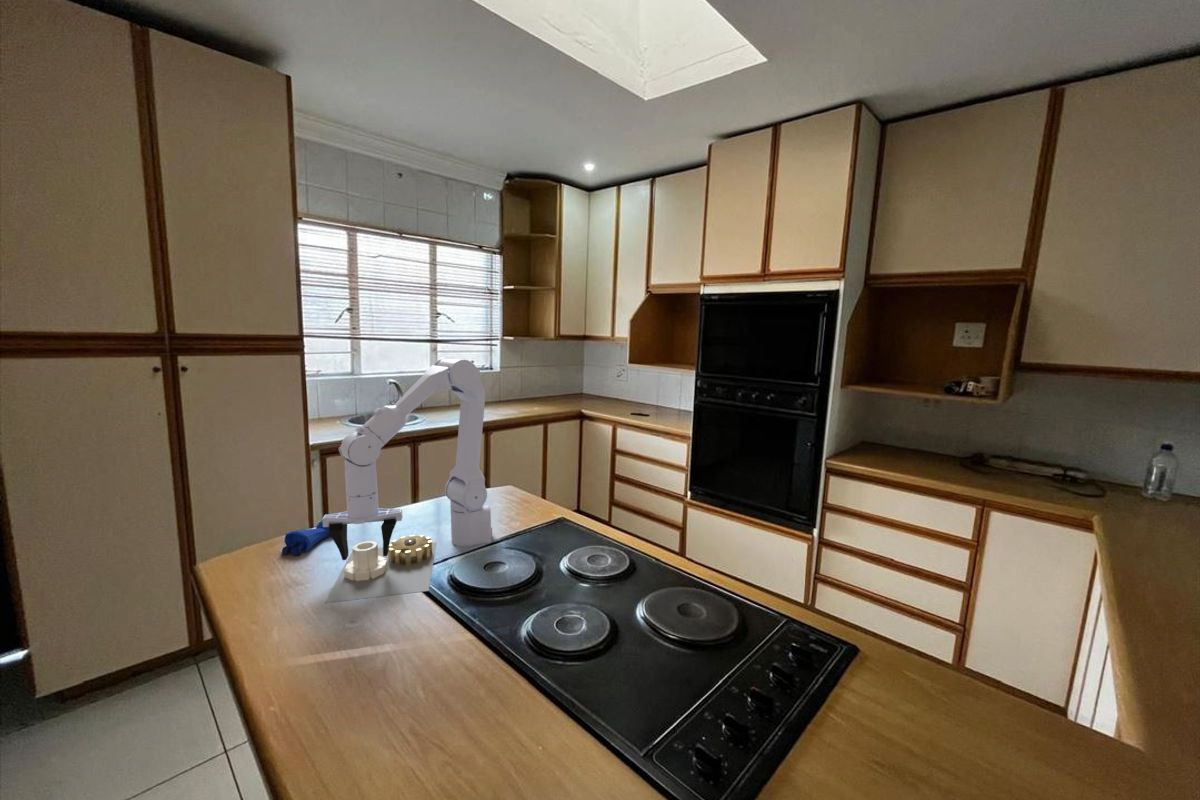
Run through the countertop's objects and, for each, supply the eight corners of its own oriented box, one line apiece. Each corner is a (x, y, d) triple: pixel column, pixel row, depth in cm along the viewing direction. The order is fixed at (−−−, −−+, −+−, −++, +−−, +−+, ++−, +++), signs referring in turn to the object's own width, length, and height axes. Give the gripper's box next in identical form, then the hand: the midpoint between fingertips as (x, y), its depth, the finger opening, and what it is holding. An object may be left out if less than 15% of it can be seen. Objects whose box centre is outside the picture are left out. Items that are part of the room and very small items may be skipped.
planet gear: (389, 560, 104) (388, 536, 104) (382, 578, 97) (381, 552, 96) (351, 564, 102) (349, 539, 102) (341, 582, 95) (339, 556, 94)
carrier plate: (436, 545, 114) (436, 542, 114) (428, 594, 93) (428, 590, 93) (352, 553, 109) (352, 550, 109) (324, 607, 88) (324, 603, 88)
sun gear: (433, 545, 112) (433, 530, 112) (430, 563, 103) (430, 547, 103) (392, 549, 110) (391, 534, 109) (385, 567, 101) (384, 551, 101)
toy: (303, 563, 106) (351, 533, 120) (300, 537, 105) (349, 510, 119) (277, 560, 107) (328, 530, 122) (274, 534, 106) (325, 507, 121)
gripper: (315, 502, 92) (320, 569, 94) (397, 496, 95) (400, 561, 97) (326, 490, 98) (330, 553, 100) (402, 485, 102) (405, 545, 104)
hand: (365, 555), depth 99 cm, fingers open, 7 cm apart
